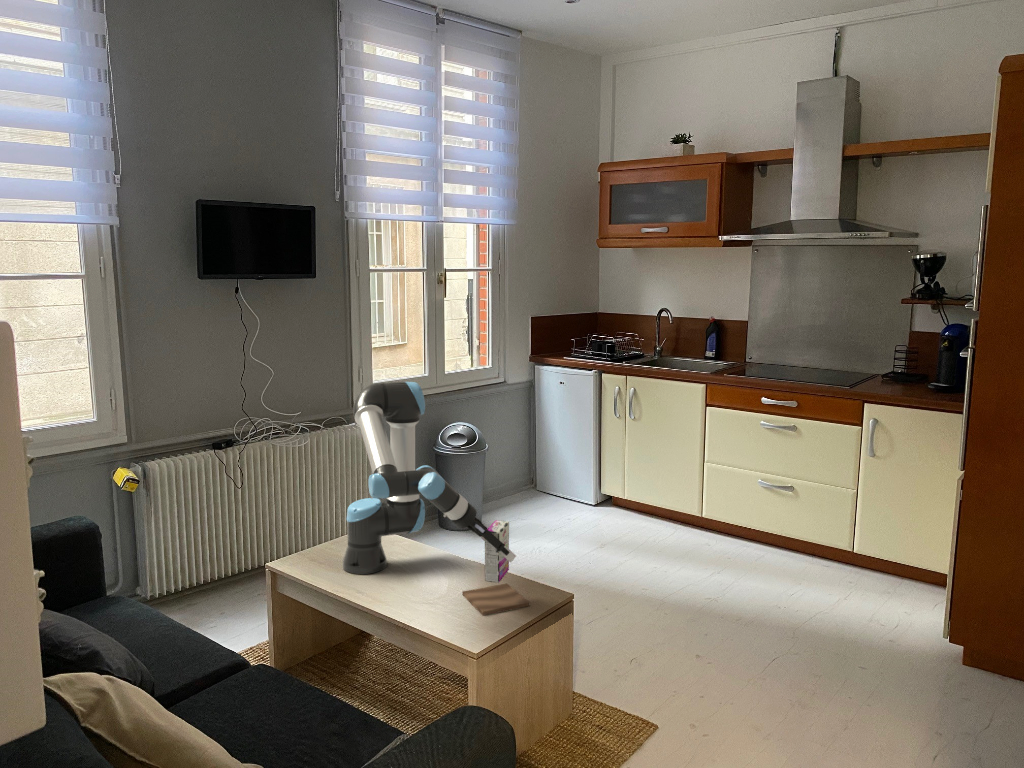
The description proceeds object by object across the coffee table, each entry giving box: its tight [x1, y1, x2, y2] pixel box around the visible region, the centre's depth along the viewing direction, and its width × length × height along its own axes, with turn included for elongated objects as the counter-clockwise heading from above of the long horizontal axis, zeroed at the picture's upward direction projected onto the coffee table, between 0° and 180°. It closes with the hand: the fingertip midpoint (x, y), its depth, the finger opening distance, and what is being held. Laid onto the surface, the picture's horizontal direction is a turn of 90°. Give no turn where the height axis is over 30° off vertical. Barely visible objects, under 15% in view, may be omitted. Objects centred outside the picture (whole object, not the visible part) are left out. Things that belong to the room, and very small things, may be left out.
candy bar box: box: [484, 519, 510, 584], centre depth 246 cm, size 11×5×16 cm, turn 164°
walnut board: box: [462, 583, 530, 616], centre depth 250 cm, size 16×16×1 cm
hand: (505, 552), depth 248 cm, fingers closed on candy bar box, 11 cm apart
